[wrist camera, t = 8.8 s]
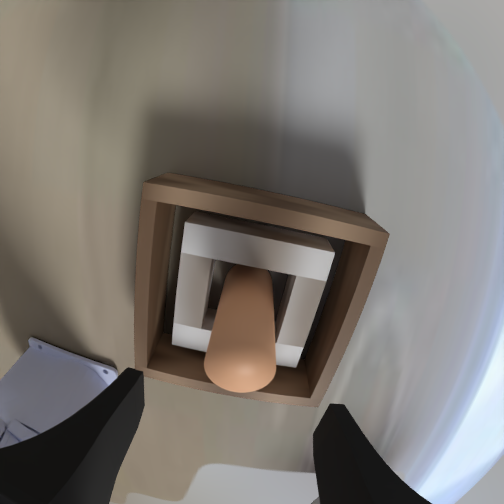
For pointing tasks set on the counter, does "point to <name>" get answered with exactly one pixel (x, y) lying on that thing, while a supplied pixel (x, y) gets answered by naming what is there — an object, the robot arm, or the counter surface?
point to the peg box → (255, 255)
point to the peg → (243, 332)
